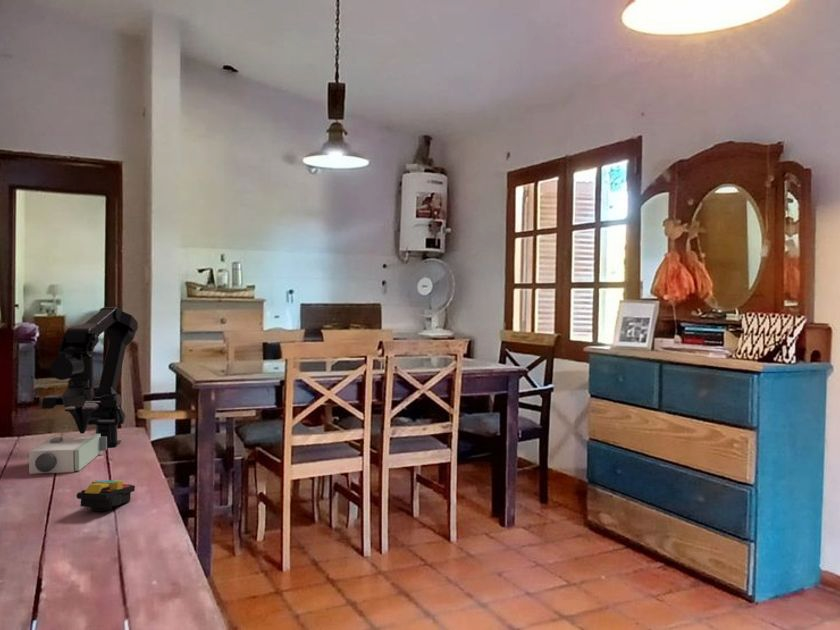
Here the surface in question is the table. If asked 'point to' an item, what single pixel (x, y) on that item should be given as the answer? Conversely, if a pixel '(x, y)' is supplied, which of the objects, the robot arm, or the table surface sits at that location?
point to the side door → (89, 450)
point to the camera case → (54, 455)
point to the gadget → (105, 494)
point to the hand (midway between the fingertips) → (82, 433)
